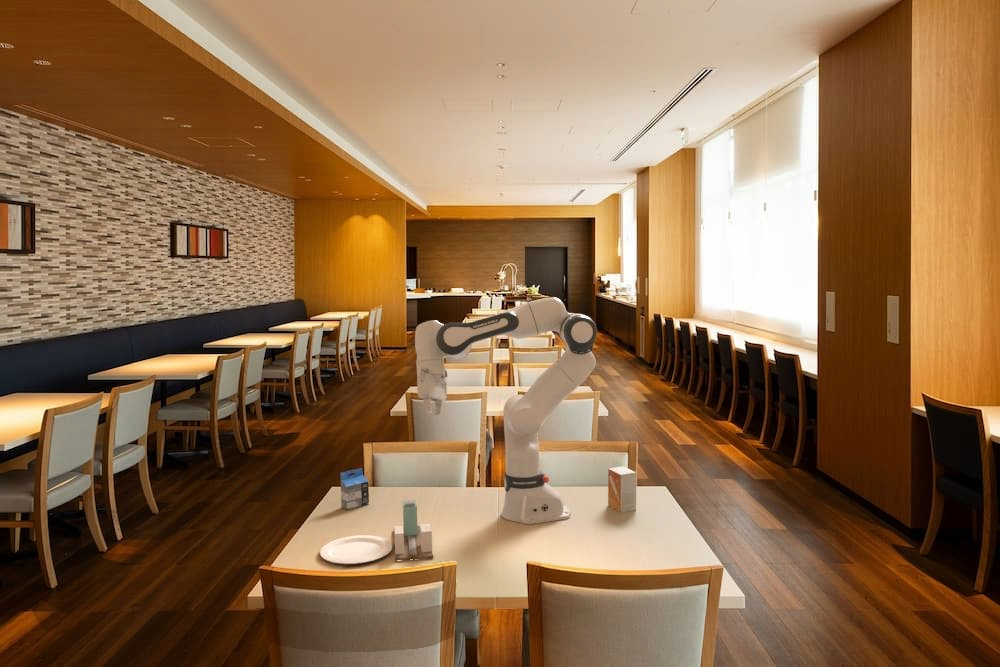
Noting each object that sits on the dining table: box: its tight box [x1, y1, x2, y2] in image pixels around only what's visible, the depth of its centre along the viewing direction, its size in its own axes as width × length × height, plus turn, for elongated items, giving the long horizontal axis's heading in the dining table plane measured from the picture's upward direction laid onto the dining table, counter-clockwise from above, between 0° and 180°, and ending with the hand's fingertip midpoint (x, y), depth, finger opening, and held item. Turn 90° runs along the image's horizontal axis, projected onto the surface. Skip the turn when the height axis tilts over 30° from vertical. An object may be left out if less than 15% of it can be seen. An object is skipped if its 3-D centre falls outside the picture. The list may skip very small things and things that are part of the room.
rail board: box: [393, 525, 434, 561], centre depth 224 cm, size 10×24×1 cm, turn 9°
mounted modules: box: [393, 523, 433, 554], centre depth 218 cm, size 10×6×6 cm, turn 99°
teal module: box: [402, 499, 418, 536], centre depth 230 cm, size 4×6×10 cm, turn 9°
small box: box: [607, 465, 637, 513], centre depth 253 cm, size 8×6×13 cm
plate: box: [319, 534, 393, 566], centre depth 219 cm, size 21×21×2 cm
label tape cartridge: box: [340, 467, 370, 511], centre depth 258 cm, size 9×4×12 cm, turn 131°
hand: (433, 414), depth 238 cm, fingers open, 8 cm apart
